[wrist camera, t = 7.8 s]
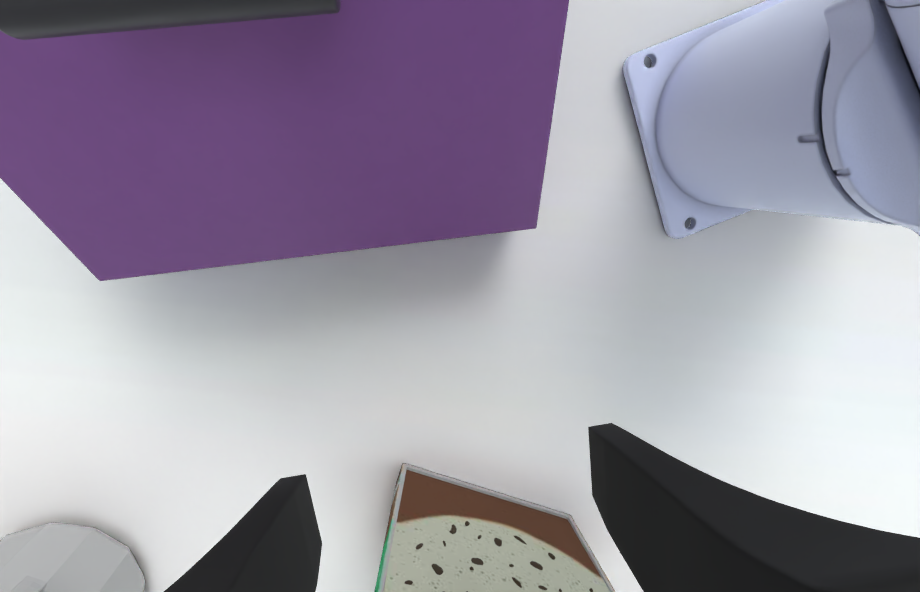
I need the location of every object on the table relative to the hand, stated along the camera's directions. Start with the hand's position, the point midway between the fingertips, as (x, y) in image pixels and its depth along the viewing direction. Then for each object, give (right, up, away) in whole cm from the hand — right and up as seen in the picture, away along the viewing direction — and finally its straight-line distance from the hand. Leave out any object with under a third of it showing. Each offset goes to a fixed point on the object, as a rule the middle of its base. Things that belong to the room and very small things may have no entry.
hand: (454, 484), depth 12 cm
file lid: (-5, +10, 0) cm, 11 cm away
